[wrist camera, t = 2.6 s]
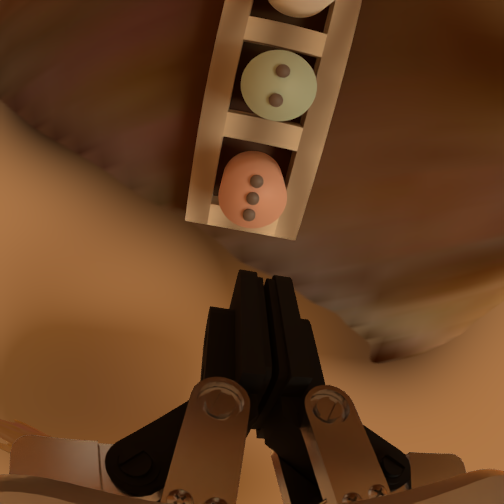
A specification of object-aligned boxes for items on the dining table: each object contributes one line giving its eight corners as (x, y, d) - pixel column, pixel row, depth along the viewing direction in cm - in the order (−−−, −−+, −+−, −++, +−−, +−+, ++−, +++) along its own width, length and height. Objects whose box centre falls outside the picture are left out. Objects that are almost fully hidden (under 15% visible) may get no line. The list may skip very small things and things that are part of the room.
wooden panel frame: (362, -32, 17) (370, -37, 16) (292, 229, 31) (295, 240, 29) (245, -61, 16) (244, -70, 14) (188, 210, 30) (185, 220, 28)
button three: (288, 157, 25) (295, 174, 21) (274, 210, 27) (278, 235, 24) (228, 145, 24) (224, 159, 21) (218, 200, 27) (213, 223, 23)
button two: (313, 62, 20) (325, 60, 17) (298, 119, 23) (307, 129, 19) (249, 47, 20) (249, 42, 16) (236, 106, 22) (233, 113, 19)
